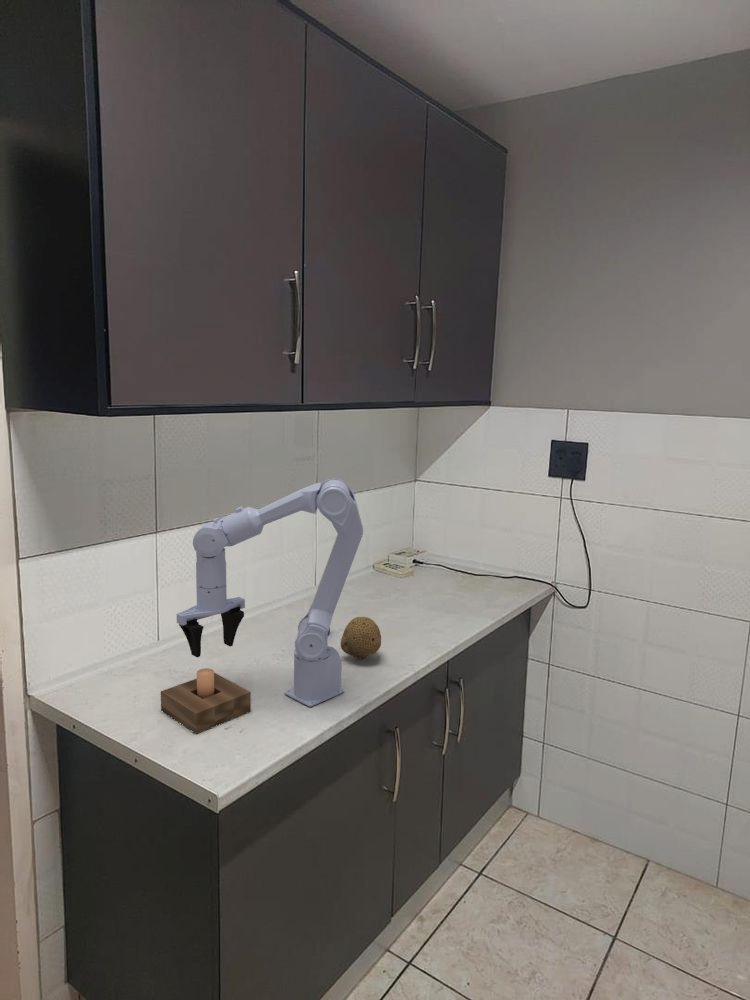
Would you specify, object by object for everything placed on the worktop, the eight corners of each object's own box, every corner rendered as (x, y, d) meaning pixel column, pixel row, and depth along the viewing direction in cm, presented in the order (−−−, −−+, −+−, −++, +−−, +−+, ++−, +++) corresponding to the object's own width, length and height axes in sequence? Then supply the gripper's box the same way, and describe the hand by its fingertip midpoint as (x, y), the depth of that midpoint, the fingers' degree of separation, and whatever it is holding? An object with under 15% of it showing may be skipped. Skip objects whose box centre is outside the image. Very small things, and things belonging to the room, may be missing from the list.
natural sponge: (389, 661, 156) (391, 619, 154) (359, 671, 150) (361, 628, 148) (364, 648, 163) (365, 608, 161) (334, 657, 157) (335, 616, 155)
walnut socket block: (214, 690, 139) (214, 672, 138) (250, 711, 131) (250, 692, 130) (161, 710, 130) (160, 691, 130) (196, 734, 123) (196, 713, 122)
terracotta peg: (208, 700, 133) (207, 666, 132) (217, 706, 131) (217, 672, 129) (194, 706, 131) (193, 671, 129) (203, 712, 128) (202, 677, 127)
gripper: (230, 572, 141) (230, 634, 144) (167, 587, 131) (169, 654, 133) (251, 580, 137) (251, 644, 139) (187, 596, 126) (189, 665, 129)
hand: (212, 650), depth 136 cm, fingers open, 7 cm apart
